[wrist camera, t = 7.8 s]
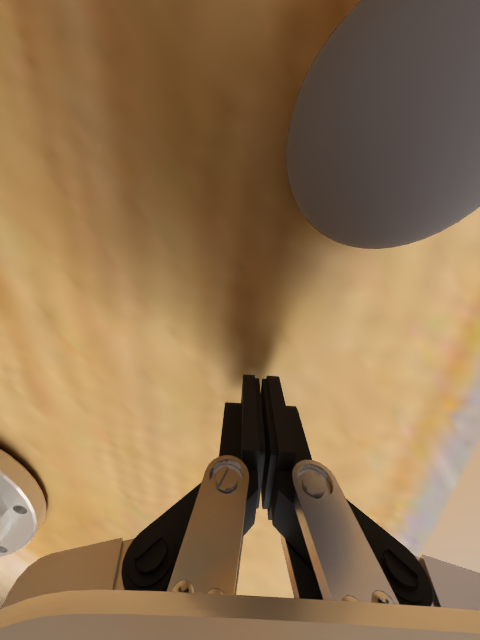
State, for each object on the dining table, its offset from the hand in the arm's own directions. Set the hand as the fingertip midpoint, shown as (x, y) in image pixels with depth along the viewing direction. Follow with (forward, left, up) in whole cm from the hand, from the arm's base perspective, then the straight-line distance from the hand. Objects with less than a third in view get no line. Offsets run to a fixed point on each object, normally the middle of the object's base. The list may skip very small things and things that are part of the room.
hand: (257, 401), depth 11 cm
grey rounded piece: (+3, +10, +1) cm, 10 cm away
